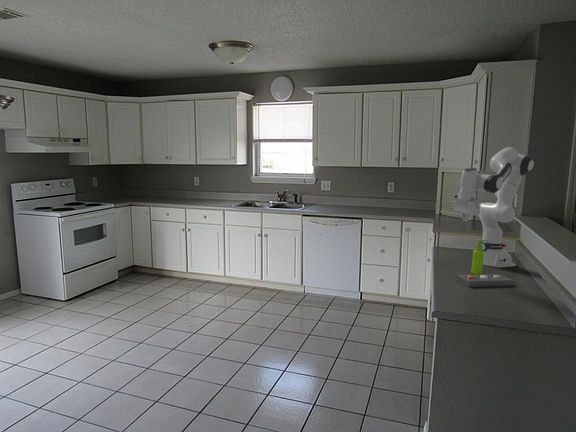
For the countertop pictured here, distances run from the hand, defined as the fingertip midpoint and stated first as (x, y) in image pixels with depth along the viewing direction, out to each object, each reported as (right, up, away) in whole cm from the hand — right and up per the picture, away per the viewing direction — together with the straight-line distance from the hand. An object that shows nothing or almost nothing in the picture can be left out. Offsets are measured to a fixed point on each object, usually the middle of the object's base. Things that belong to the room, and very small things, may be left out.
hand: (465, 221), depth 235 cm
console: (+5, -33, -11) cm, 36 cm away
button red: (-3, -33, -13) cm, 35 cm away
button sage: (+13, -33, -10) cm, 37 cm away
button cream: (+5, -33, -11) cm, 35 cm away
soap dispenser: (+11, -31, +8) cm, 34 cm away
